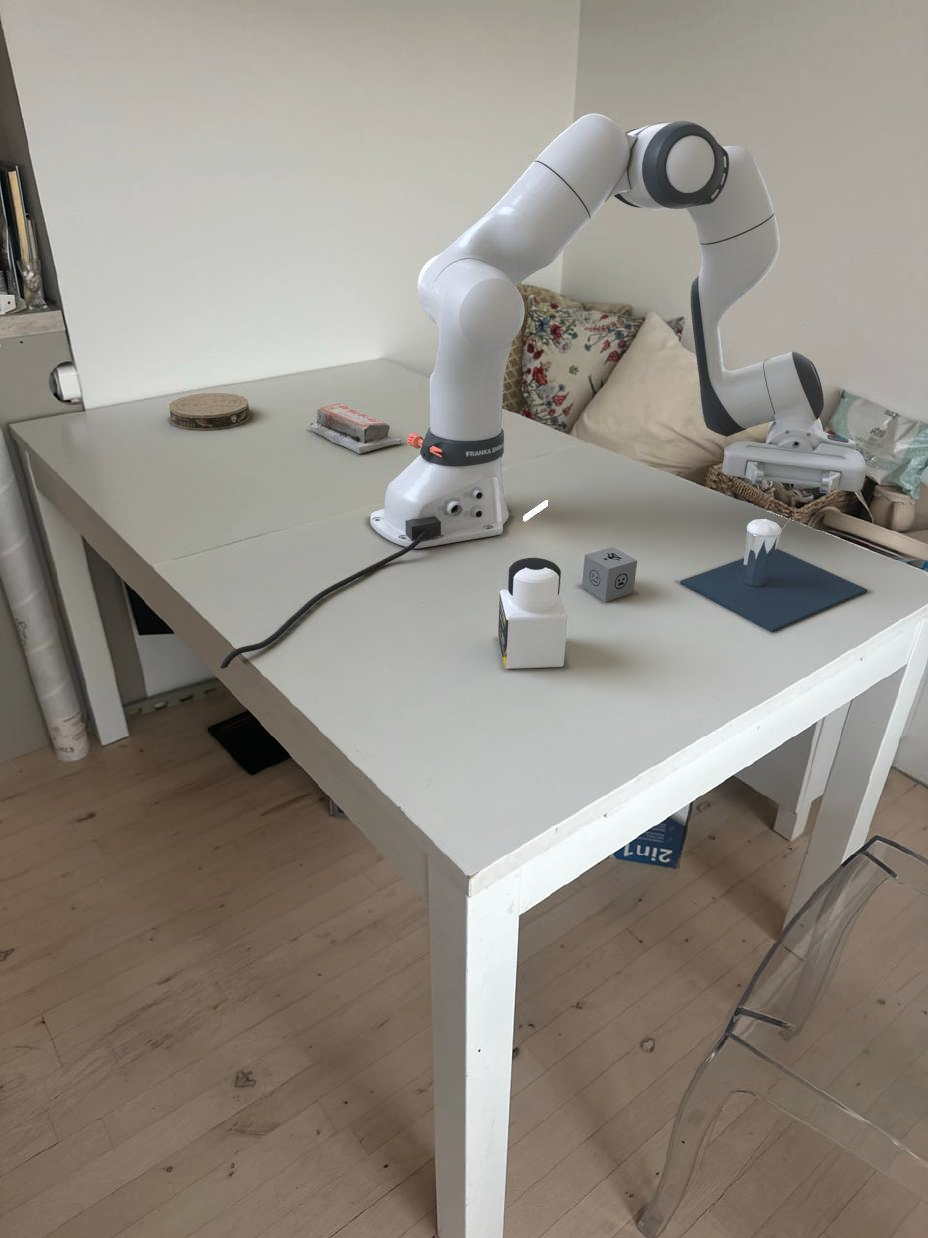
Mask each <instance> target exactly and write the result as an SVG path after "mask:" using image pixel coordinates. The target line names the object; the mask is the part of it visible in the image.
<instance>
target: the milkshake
mask: <svg viewBox="0 0 928 1238" xmlns="http://www.w3.org/2000/svg"><path fill="white" fill-rule="evenodd" d="M790 520H791V517H789V518H788V519H787V521H786V522H785V523H784V525H783V526H782V528H781V526H780V525H779V523H777V522H775V521H772V520H770V519H767V518H757V519H753V520H751V521H749V523H747V525H746V532H745V533H746V534H745V547H744V557H743V558H744V565H743V575H742V581H743V582H744V583H745V584H747V585H750V586H756V587H760V586H764V585H765V584H766V582H767V578H768V575H769V571H770V568H771V564H772V561H773V557H774V554H775V551H776V549H778V548H777V547H778V545H779V541H780V539H781V535H782V532H783V530H784V529H785V527H786V526H787V525H788V523H789V522H790Z"/></svg>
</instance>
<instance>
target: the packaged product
mask: <svg viewBox="0 0 928 1238" xmlns="http://www.w3.org/2000/svg"><path fill="white" fill-rule="evenodd" d="M316 415H317V416H316V422H311V423H310V424H309V430H310V431H311V432H313V433H315V434H317V435H319V436H321V437H323V438H325V439H327V440H329V441H330V442H332V443H333V444H337V445H340V446H342V447H344V448H346V449H348V450H350V451H352V452H354V453H356V454H358V455H360V454H365V453H367V452H371V451H374V450H377V449H381V448H384V447H388V446H393V445H401V442H402V438H401V437H398V436H397V435H394V434H390V433H389V432H390V429H391V428H390V424H388V423H386V422H385V421H381V420H380V419H377V418H375V417H373V416H371V415H369V414H366V413H364V412H362V411H360V410H358V409H355V408H353V407H351V406H349V405H346V404H343V403H336V404H331V405H326V406H323V407H319V408H317V409H316Z"/></svg>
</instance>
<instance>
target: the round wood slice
mask: <svg viewBox="0 0 928 1238" xmlns="http://www.w3.org/2000/svg"><path fill="white" fill-rule="evenodd" d="M168 408H169V415H170V421H171V423H172V424H173V425H174V426H175V427H178V428H180V429H183V430H184V429H185V430H192V431H213V430H214V431H216V430H223V429H229V428H233V427H236V426H239V425H242V424H244V423H246V422H247V421H248V420H249V419H250V416H251V415H250V406H249V400H248V399H247V398H246V397H244V396H242V395H239V394H236V393H235V394H234V393H227V392H205V393H197V394H190V395H185V396H182V397H180V398H177V399H174V400H173V401H171V402H170V404H169V406H168Z"/></svg>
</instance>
